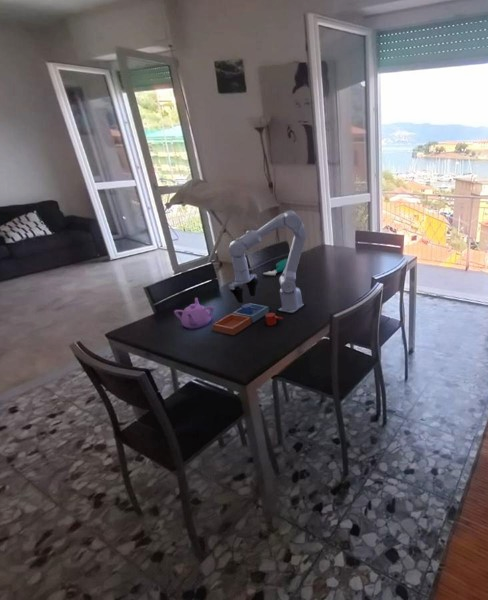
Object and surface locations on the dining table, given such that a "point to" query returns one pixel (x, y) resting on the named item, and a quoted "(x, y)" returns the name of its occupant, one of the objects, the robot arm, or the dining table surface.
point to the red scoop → (271, 318)
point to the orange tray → (232, 324)
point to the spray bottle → (278, 268)
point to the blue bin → (254, 312)
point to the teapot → (195, 315)
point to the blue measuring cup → (248, 309)
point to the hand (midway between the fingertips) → (246, 299)
